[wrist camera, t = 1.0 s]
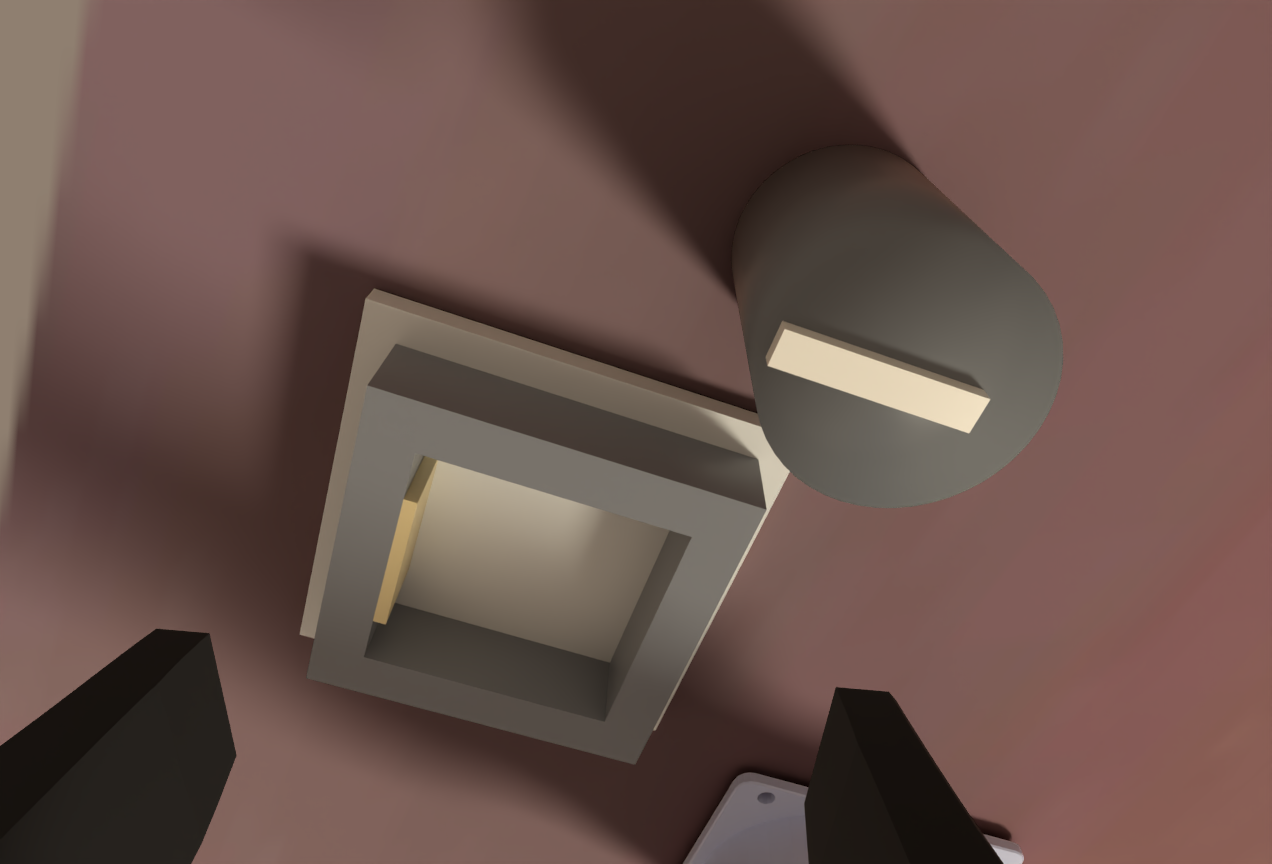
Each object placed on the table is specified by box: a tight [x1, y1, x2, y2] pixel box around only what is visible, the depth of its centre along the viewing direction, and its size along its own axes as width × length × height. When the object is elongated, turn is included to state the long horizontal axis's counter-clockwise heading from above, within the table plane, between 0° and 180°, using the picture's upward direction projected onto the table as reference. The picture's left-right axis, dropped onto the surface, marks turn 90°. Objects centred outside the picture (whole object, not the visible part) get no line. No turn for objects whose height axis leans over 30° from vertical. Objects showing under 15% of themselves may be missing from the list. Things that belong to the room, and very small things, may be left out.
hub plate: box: [300, 288, 790, 765], centre depth 20 cm, size 10×10×3 cm
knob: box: [731, 145, 1063, 508], centre depth 15 cm, size 4×4×6 cm
